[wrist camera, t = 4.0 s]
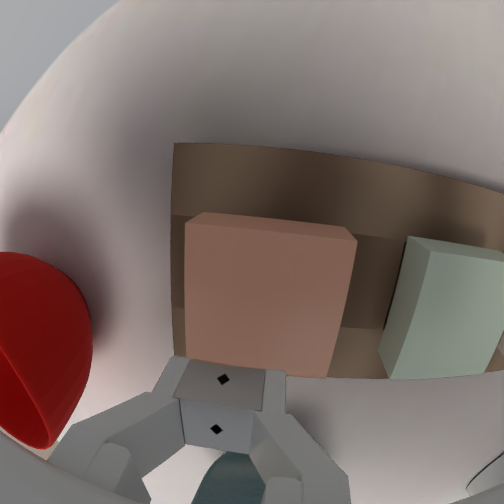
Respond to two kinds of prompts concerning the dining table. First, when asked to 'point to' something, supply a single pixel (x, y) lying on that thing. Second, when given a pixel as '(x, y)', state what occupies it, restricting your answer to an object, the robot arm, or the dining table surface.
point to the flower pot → (231, 482)
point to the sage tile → (443, 311)
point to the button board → (337, 214)
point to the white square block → (501, 345)
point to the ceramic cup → (40, 349)
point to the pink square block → (265, 291)
